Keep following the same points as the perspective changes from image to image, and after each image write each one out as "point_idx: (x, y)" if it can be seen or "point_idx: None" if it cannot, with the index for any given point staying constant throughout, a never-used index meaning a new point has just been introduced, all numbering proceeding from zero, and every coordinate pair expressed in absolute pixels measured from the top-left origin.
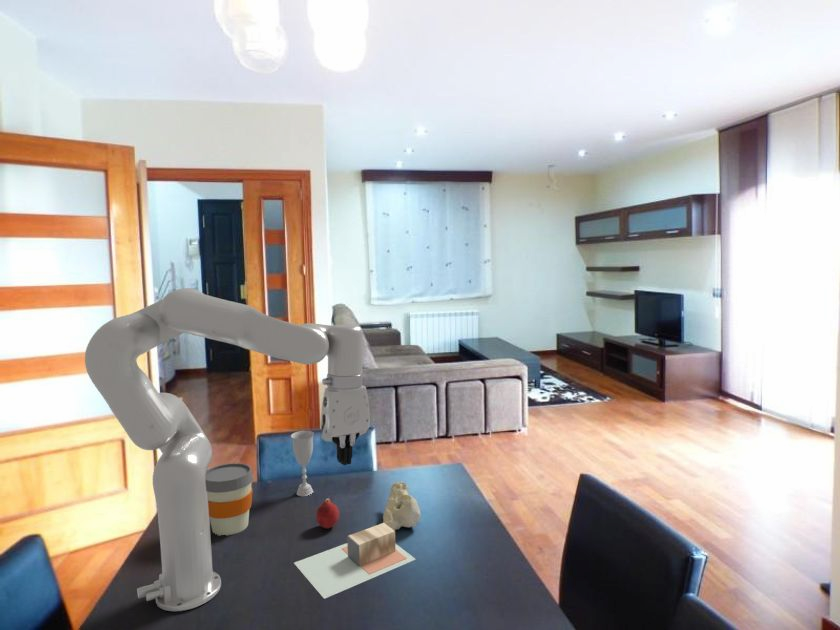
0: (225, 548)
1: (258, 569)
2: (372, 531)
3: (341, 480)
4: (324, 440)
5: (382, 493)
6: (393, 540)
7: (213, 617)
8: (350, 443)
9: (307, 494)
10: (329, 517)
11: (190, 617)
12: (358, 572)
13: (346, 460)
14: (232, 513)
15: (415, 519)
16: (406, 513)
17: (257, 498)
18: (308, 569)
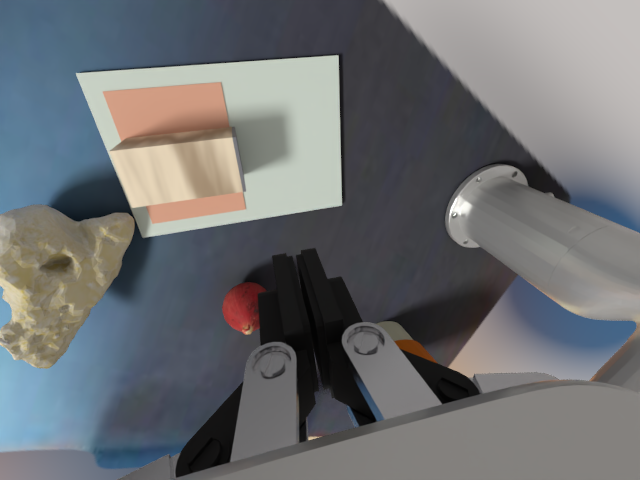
0: (406, 290)
1: (390, 218)
2: (176, 181)
3: (170, 426)
4: (552, 376)
5: (92, 372)
6: (123, 144)
7: (487, 126)
8: (292, 358)
9: None
10: (250, 291)
11: (506, 145)
12: (241, 105)
13: (308, 262)
14: (403, 344)
15: (22, 208)
16: (44, 224)
17: (321, 399)
18: (327, 172)
